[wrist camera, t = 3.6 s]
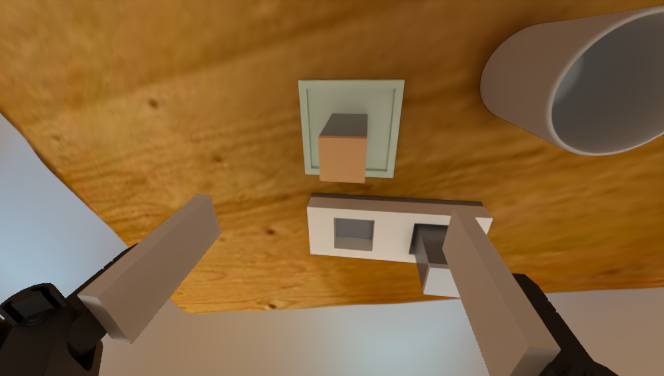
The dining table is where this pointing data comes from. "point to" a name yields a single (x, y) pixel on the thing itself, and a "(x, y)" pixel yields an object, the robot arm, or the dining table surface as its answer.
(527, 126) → the mug
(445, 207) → the strip
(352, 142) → the plug
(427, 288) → the grey square peg
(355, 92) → the tray
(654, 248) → the dining table surface
